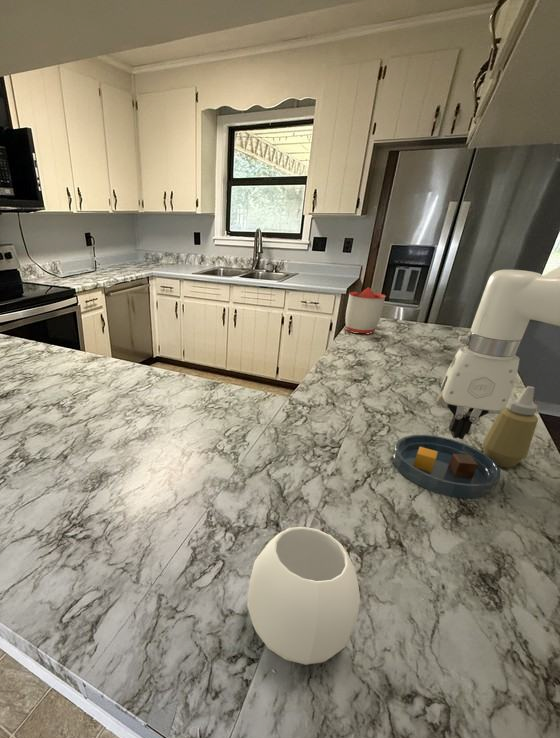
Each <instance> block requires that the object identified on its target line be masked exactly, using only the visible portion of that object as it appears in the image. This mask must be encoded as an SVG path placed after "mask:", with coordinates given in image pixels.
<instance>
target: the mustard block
mask: <svg viewBox="0 0 560 738" xmlns="http://www.w3.org/2000/svg"><path fill="white" fill-rule="evenodd" d="M437 453H438V451H434V450H430V449H427V448H423V447H419V450H418V453H417V456H416V459H415V462H414V467H415V468H418V469H421V470H424V471H427V472H432V469H433V466H434V463H435V460H436V457H437Z"/></svg>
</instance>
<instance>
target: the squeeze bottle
mask: <svg viewBox="0 0 560 738" xmlns="http://www.w3.org/2000/svg"><path fill="white" fill-rule="evenodd" d="M534 393H535V387H534V386H531V385H527V386H526V387H525V389H524V390H523V391H522V393H521V394H520V396H519V397H518V398H512V399H509V401H508V404H507V406H506V407H505V408H504V409H503V410H502V412H501V413H500V414H497V416H496V418H495V419H494V421H493V422H492V425H491V426H490V428H489V430H488V431H487V433H486V435H485V437H484V439H483V442H482V449H483V452H482V453H484V454H486V455H487V456H489V457H490V458H491V459H492V460H493V461H494V462H495V463H496V464H497V466H498V467H502V468H514V467H515V466H517V465H518V464H519V463H520V462H521V461H522V460H523V459H524V458H526V457H527V456H528V453H529V450H530V446H531V444H532V441H533V437H534V434H535V431H536V427H537V425H538V421H539V418H538V416H537V415H535V414H536V412H537V409H538V408H539V407H538V405H537V404H536V403H534Z"/></svg>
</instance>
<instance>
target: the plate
mask: <svg viewBox="0 0 560 738" xmlns="http://www.w3.org/2000/svg"><path fill="white" fill-rule="evenodd" d="M419 447H423V448H427V449H430V450H434V451H438V453H437V457H436V460H435V463H434V466H433V469H432V472H427V471H424V470H421V469H418V468H415V467H414V462H415V459H416V456H417V453H418V450H419ZM453 454H461V455H470V456H471V457H472V458H473V459H474V460H475V461H476V463H477V464H478V466H477V468H476V471H475V473H474V476H473V478H463V477H454V475H453V474H452V473H451V471H450V470H449V468H448V465H449V463H450V460H451V457H452V455H453ZM391 459H392V465H393V466H394V468H395V469H396V470H397V472H399V473H400V474H401V475H402V476H403V477H404V478H406V479H407V480H408V481H410V482H411V483H414V485H415V484H416V485H417V486H419V487H421V488H424V489H426V490H428V491H431V492H433V493H436V494H440V495H443V496H448V497H452V498H460V499H481V498H484V497H487V496H490V495H491V494H492V493H493V492H494V491H495V490H496V488H497V485H498V483H499V481H500V479H501V469H500V466H498V465H497V464H496V463H495V462H494V461H493V460H492V459H491V458H490V457H489V456H487V455H486V454H484V453H483V452H482V451H481V450H479V449H478V448H475V447H473V446H471V445H469V444H466V443H464V442H462V441H458V440H455V439H452V438H448V437H444V436H438V435H430V434H412V435H408V436H404V437H402V438H401V439H400V438H399V440H397V442H396V444H395V445H394V449H393V453H392V457H391Z"/></svg>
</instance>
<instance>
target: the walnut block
mask: <svg viewBox="0 0 560 738" xmlns="http://www.w3.org/2000/svg"><path fill="white" fill-rule="evenodd" d="M477 466H478V464H477V463H476V461H475V460H474V459H473V458H472V457H471V456H470V455H461V454H453V455H452V457H451V460H450V463H449V465H448V468H449V470H450V471H451V473H452V474H453V475H454V477H463V478H473V476H474V473H475V471H476V468H477Z"/></svg>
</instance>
